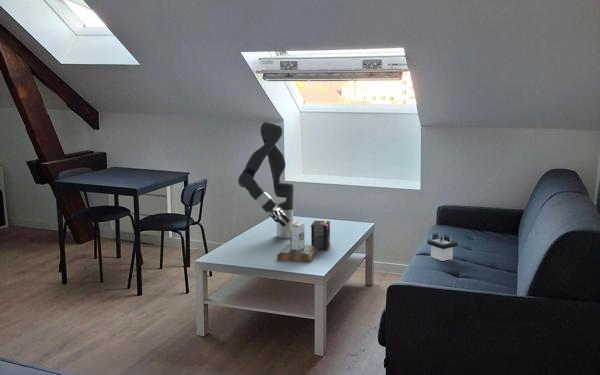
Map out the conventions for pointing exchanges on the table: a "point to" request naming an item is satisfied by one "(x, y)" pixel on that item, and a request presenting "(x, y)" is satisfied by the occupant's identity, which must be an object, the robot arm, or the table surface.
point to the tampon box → (320, 234)
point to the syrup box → (297, 235)
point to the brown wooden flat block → (297, 254)
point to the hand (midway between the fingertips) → (286, 223)
